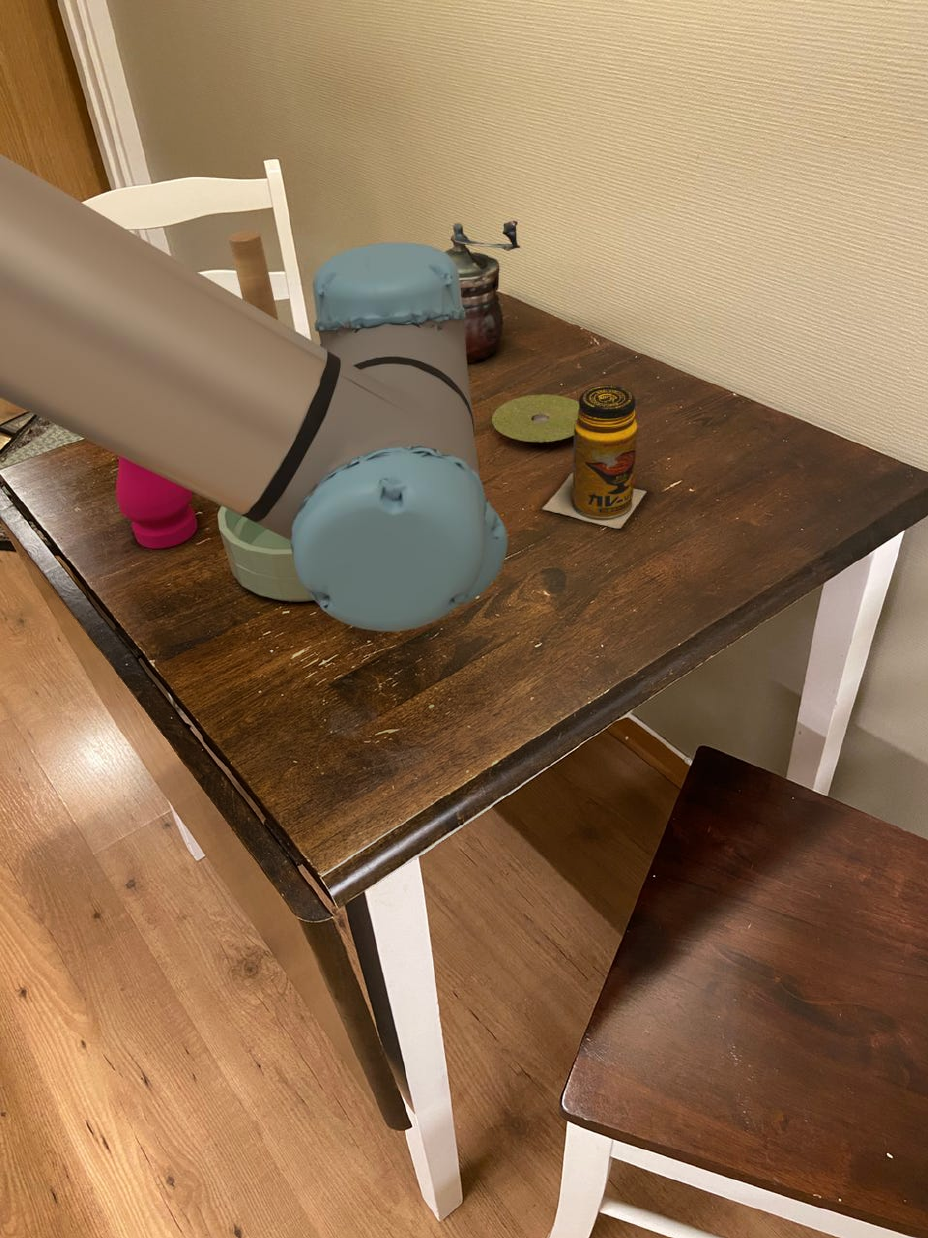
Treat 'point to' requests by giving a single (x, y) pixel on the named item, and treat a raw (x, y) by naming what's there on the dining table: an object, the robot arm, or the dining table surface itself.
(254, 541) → the bowl
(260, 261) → the wooden post with base
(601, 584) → the dining table surface
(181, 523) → the pepper mill
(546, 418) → the olive green flat disc
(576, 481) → the condiment
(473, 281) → the coffee grinder
